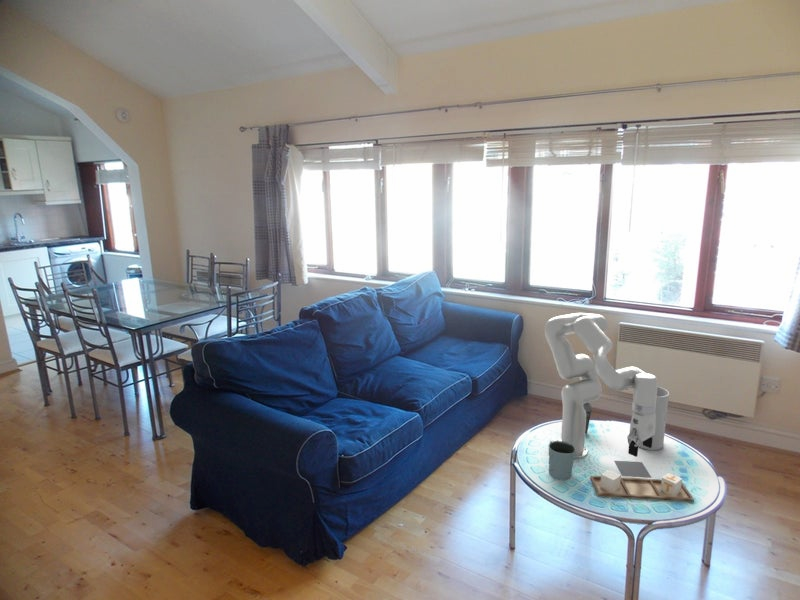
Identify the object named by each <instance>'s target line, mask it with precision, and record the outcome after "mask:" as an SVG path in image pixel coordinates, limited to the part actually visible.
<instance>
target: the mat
mask: <svg viewBox="0 0 800 600" xmlns="http://www.w3.org/2000/svg"><path fill="white" fill-rule="evenodd" d="M613 462H614V463H615V466H616V468H617V470H618V471H619V473H620V475H621V477H631V478H649V479H653V478H652V476H651V474H650V473H649V471H648V469H647V467H646V465H644V463H643V462H642V461H632V460H629V461H626V460H614V461H613Z"/></svg>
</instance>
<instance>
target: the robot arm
mask: <svg viewBox="0 0 800 600" xmlns="http://www.w3.org/2000/svg"><path fill="white" fill-rule="evenodd" d="M608 329H609V322H608V320H607V318H605V317H604V316H603V315H602V314H599V313H588V312H587V313H586V312H574V313H573V312H572V313H568V314H562V315H558V316H557V315H556V316H553V317H552V318H549V320H548V321H546V322H545V326H544V331H543V332H544V337H545V340H546V341H547V344H548V345H549V348H550V350H551V353H552V356H553V357H552V358H553V360H554V363H555V366H556V369H557V372H558V375H559V377H560V378H561V379H563V380H565V381H566V380H567V381H568V380H575V379H577V378H579V380H575V381H573V382H570V383H567V384H565V385H564V386H563V387H562V389H561V401H562V419H561V434H560V435H561V437H559V439H558V440H556V441H563V442H567V443H570V444H572V445H573V446H574V447H575V449H576V452H575V457H574V460H577V459H583V458H585V457H587V456H588V453H589V451H588V449H587V447H586V446H585V441H586V434H585V430H586V411H585V409H584V407H583V404H585V403H587V402H589V403H590V402H594V401H596V400H598V399H600V398H601V396H602V392H603V390H602V385H601V381H602V382H603V383H604V384H605V386H607V387H608V388H609V389H611V390H612V391H615V392H620V391H624V390H627V389H632V388H633V392H632V406H631V407H632V408H631V410H632V412H631V413H632V414H631V419H630V426H629V434H628V435H627V437H626V438H627V443H628V451H627V452H628V454H629V455H631V456H633V457H638V453H639V447H638V446H637V445H638V443H639V441H643V445H644V446H646V447H649V448H651V447H652V439H653V438H651V437H653V435H654V434H655V428H656V414H655V408H656V397H657V386H658V385H659V384H658V383H659V380H658V378H657V376H656V375H654V374H652V373H647V372H645V371H643V370H642V369H641V368H639V367H637V366H634V365H633V366H627V367H622V368H618V369H615V368H614V367H613V366H612V365H611V363H610V361H609V360H608V357H607V354H608V353H609V352H611V350H612V349H613V345H614V344H613V341H612V340H611V339H610V338H609V337H608V336H607V334H606V332H607V331H608ZM573 334H574V335H575V334H576V335H577V337H578V339H580V340H581V342H582V343H583V345H585V347H586V348H587V349H588V350H589V351H590V352H591V354H592V355H593V360H592V358H591V357H590V356H589V355H587V354H585V353H579V354H578V353H577V354H575V352H574V349H573V346H572V344H571V342H570V341H569V340H568V339H567V338H566V337H565V336H567V335H568V336H569V335H573ZM600 380H601V381H600ZM658 387H659V386H658ZM634 436H637V438H636V437H634ZM633 439H636V442H634V441H633ZM553 441H554V440H549V444H550V443H551V442H553Z"/></svg>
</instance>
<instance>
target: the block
mask: <svg viewBox="0 0 800 600" xmlns="http://www.w3.org/2000/svg"><path fill="white" fill-rule="evenodd" d="M600 476H601V483H600V487H601V488H603V489H605V490H607V491H609V492H611V493H614V492H615V491H617V490H618V489H619V488H620V479H621V477H622V475H621V474H619V473H617V472H615V471H612V470H611V469H606V471H604V472H603V473H601V474H600Z"/></svg>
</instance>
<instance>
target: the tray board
mask: <svg viewBox="0 0 800 600" xmlns="http://www.w3.org/2000/svg"><path fill="white" fill-rule="evenodd" d="M589 479H590V481H591V483H592V486H593V488H594V491H595V493H596V496H597V497H601V498H602V497H605V498H620V499H621V498H622V499H636V500H638V499H640V500H652V501H653V500H655V501H657V500H658V501H671V502H672V501H673V502H689V503H694V502H695V498H694V497H693V496H692V494H691V493H690V491H689V490H688V489H687V487H686V486H685V484H684V483H683V482H682V484H681V492H680V493H678V494H677V495H676V496H675V497H673V496H671V495H669V494H667V493H665V492H662V491H660V490H661V481H662V479H660V478H658V479H655V478H654V479H653V478H643V477H624V476H621V479H620V488H619V489H618V490H617V491H615V492H614V493H611V492H609V491H607V490H605V489H603V488H601V487H600V483H601V475H590V477H589Z"/></svg>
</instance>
